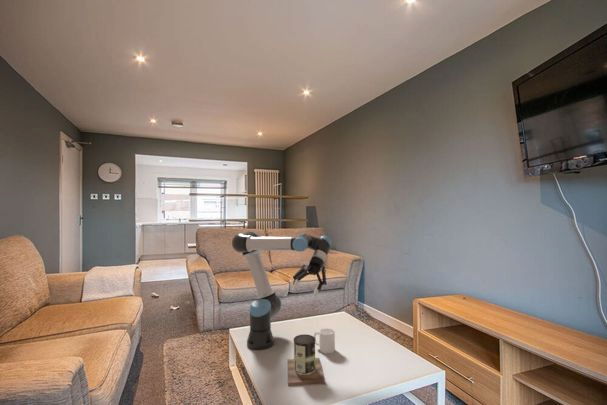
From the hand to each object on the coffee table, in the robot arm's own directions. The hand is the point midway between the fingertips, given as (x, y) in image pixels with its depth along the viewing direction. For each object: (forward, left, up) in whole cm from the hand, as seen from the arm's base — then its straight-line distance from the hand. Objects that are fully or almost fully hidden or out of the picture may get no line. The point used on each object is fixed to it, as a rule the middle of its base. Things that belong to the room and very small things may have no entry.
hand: (303, 293), depth 152 cm
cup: (-7, +11, -33) cm, 35 cm away
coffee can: (+14, -1, -32) cm, 35 cm away
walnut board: (+14, -1, -33) cm, 36 cm away
